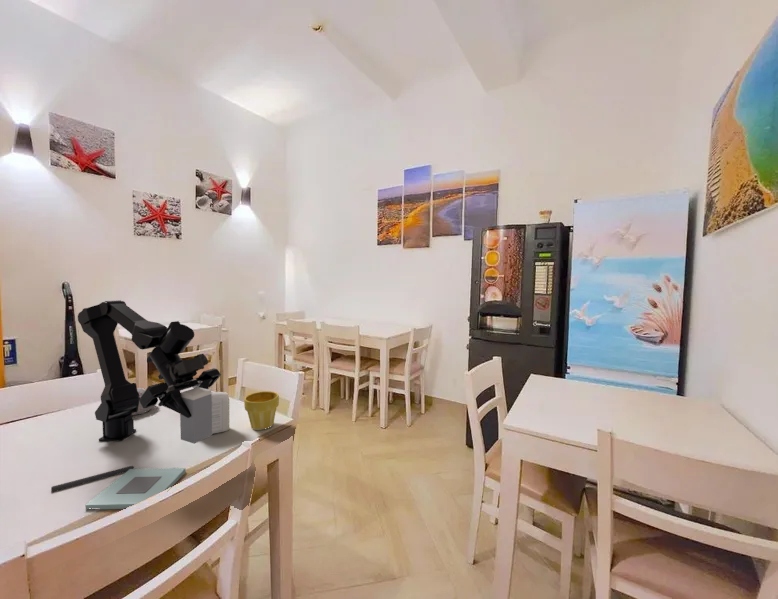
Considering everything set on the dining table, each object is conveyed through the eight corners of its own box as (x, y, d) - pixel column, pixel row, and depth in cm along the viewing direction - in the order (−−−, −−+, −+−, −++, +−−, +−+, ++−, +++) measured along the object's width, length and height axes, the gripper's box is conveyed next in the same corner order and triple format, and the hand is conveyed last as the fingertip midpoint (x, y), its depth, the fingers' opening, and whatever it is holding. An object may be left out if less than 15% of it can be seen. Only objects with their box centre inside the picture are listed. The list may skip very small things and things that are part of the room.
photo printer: (228, 425, 109) (228, 388, 108) (230, 431, 105) (230, 391, 105) (191, 433, 103) (190, 393, 102) (192, 439, 100) (191, 398, 99)
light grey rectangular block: (180, 439, 86) (179, 392, 85) (198, 431, 90) (197, 387, 90) (194, 443, 84) (193, 396, 83) (212, 435, 88) (211, 390, 88)
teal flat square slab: (85, 509, 69) (85, 504, 69) (130, 473, 82) (130, 468, 82) (151, 508, 70) (151, 503, 70) (185, 472, 83) (185, 467, 83)
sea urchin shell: (157, 401, 128) (157, 381, 128) (155, 414, 117) (155, 391, 116) (113, 408, 122) (112, 386, 121) (106, 422, 110) (105, 398, 109)
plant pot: (237, 429, 106) (236, 399, 106) (260, 417, 116) (260, 389, 115) (263, 435, 103) (263, 404, 102) (285, 422, 112) (285, 393, 111)
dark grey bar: (51, 493, 75) (51, 488, 75) (52, 490, 76) (52, 485, 76) (134, 470, 84) (134, 466, 84) (134, 468, 85) (134, 464, 85)
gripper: (145, 352, 79) (178, 407, 75) (215, 339, 96) (245, 383, 92) (126, 381, 82) (156, 435, 79) (196, 364, 99) (224, 407, 96)
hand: (199, 413), depth 86 cm, fingers closed on light grey rectangular block, 5 cm apart
